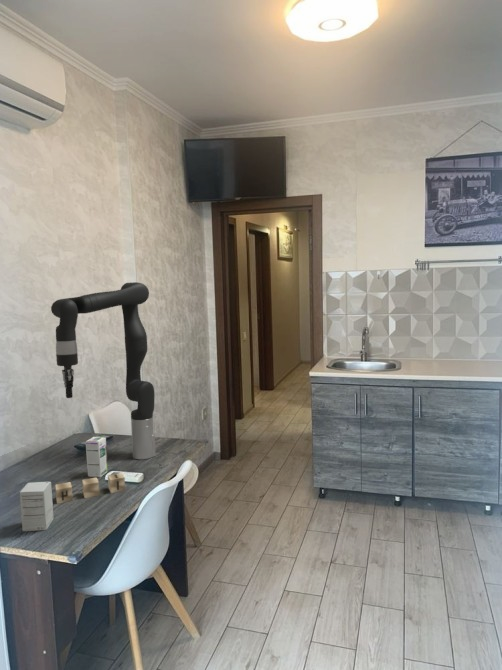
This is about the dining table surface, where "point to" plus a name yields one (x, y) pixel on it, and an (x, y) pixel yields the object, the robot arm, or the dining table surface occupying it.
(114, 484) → the digit one block
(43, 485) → the supplement box
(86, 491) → the plain block
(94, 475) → the syrup box
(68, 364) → the robot arm
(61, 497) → the light wooden cube
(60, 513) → the dining table surface
